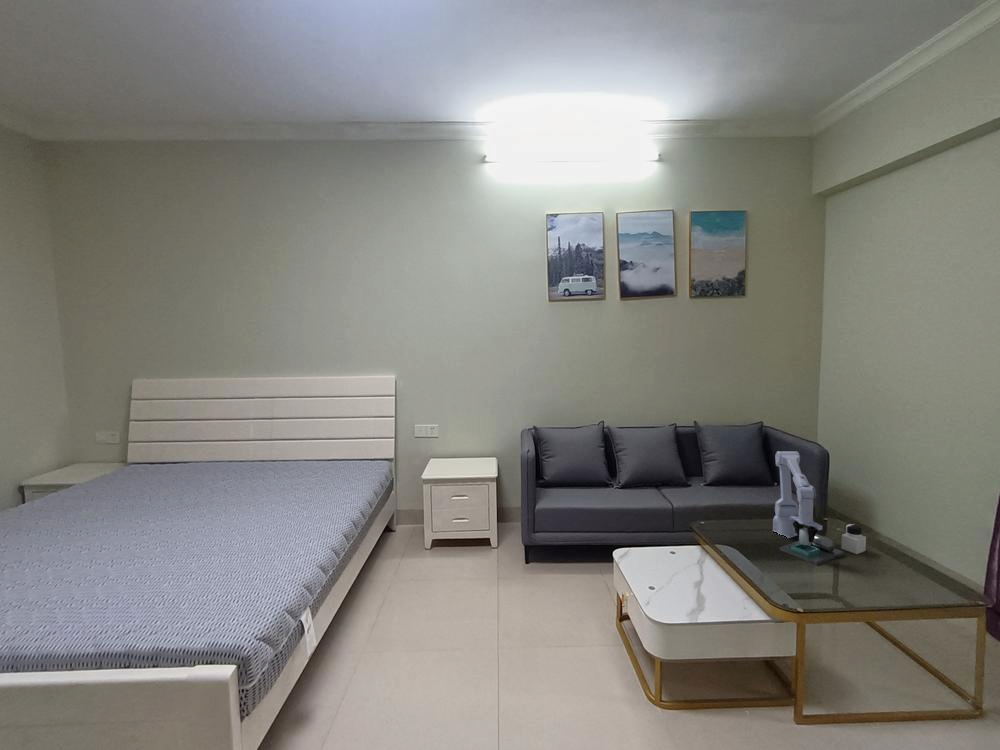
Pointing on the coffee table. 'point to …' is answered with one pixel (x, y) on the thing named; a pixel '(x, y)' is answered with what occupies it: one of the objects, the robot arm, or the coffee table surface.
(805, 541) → the white rounded cylinder
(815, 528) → the robot arm
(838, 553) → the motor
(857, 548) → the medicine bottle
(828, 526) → the coffee table surface
